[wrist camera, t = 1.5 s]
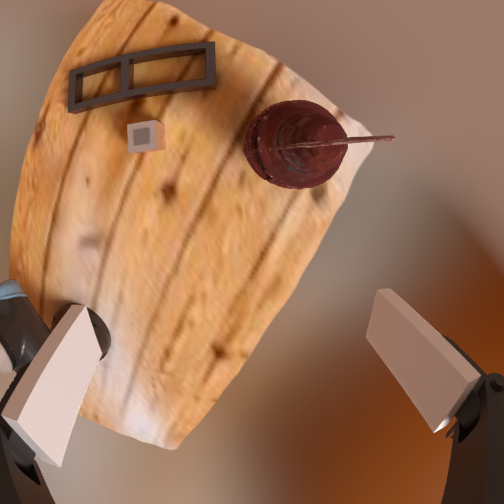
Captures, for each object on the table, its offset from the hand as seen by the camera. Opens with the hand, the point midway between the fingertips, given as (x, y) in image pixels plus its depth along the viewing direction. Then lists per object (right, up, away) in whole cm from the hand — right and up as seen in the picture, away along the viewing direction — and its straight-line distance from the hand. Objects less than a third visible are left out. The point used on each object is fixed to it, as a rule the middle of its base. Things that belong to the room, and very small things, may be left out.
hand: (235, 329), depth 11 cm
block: (-16, +22, +30) cm, 41 cm away
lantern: (+5, +21, +34) cm, 40 cm away
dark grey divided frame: (-19, +33, +26) cm, 46 cm away
